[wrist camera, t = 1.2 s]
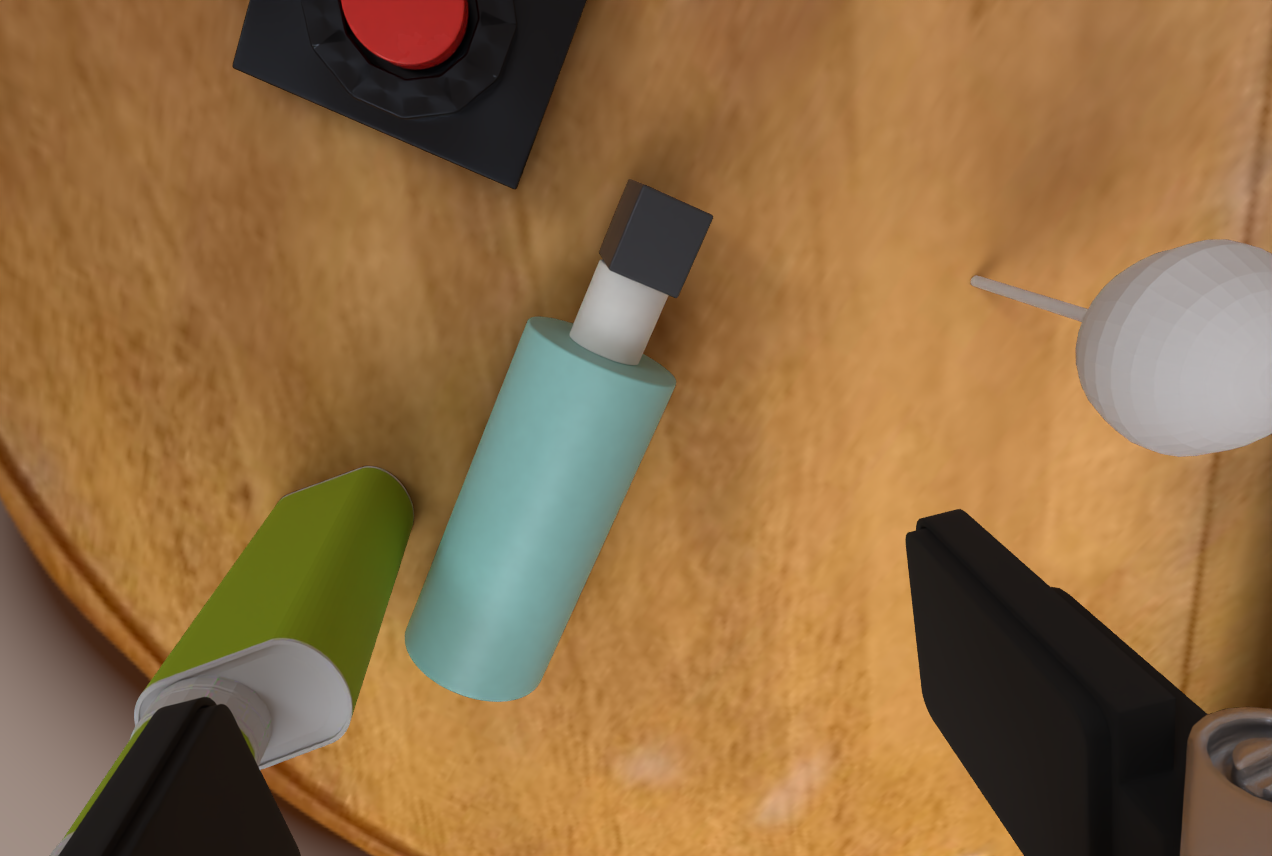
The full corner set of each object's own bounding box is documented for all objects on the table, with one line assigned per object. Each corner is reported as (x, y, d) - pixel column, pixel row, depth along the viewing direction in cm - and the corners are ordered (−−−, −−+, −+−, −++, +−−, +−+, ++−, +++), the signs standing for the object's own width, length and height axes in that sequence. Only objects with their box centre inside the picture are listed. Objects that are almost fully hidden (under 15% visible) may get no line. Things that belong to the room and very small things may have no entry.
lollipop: (1050, 326, 35) (1390, 449, 21) (923, 370, 35) (1179, 521, 21) (1032, 185, 33) (1398, 219, 19) (896, 232, 33) (1163, 299, 19)
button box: (247, 71, 28) (211, 62, 25) (314, -174, 26) (282, -218, 23) (516, 187, 31) (515, 193, 28) (597, -29, 29) (605, -50, 25)
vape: (255, 506, 34) (-93, 959, 15) (389, 456, 34) (209, 848, 15) (297, 579, 35) (26, 1078, 16) (426, 530, 35) (303, 976, 16)
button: (337, 39, 26) (324, 32, 24) (372, -79, 25) (361, -95, 23) (446, 88, 27) (441, 85, 25) (484, -24, 26) (481, -35, 24)
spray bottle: (414, 594, 36) (585, 158, 31) (541, 632, 37) (725, 221, 32) (392, 677, 30) (597, 162, 25) (542, 718, 32) (765, 238, 27)
